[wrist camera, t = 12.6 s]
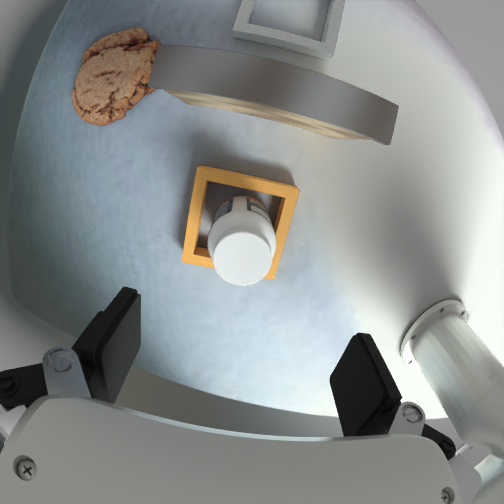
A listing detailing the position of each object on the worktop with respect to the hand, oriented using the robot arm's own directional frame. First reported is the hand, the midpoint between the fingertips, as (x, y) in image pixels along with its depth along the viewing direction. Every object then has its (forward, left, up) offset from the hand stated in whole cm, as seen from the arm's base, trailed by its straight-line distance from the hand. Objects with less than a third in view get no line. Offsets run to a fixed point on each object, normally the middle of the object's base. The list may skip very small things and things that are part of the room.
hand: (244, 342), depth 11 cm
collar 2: (+1, 0, -17) cm, 17 cm away
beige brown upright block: (+1, -11, -17) cm, 20 cm away
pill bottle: (0, 0, -17) cm, 17 cm away
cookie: (+16, -13, -17) cm, 26 cm away
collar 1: (+1, -22, -17) cm, 28 cm away
